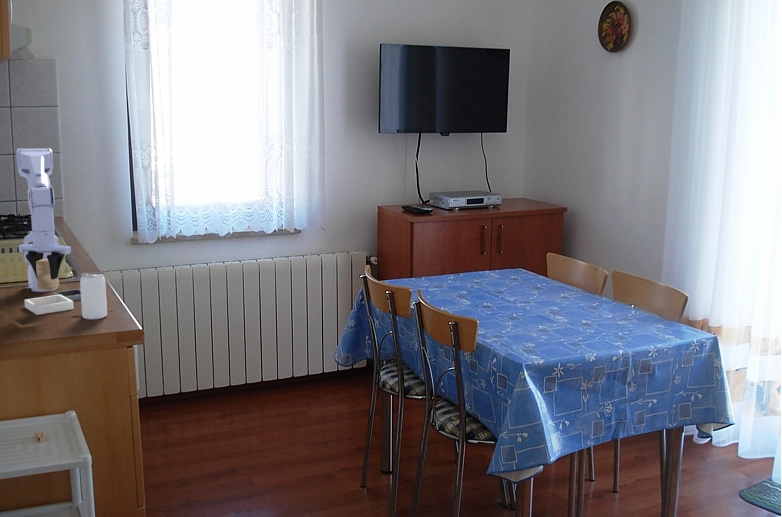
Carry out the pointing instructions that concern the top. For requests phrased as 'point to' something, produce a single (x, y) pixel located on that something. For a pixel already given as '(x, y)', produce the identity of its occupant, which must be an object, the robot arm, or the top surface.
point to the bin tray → (48, 304)
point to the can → (93, 296)
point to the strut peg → (45, 276)
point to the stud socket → (70, 294)
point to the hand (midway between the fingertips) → (47, 278)
